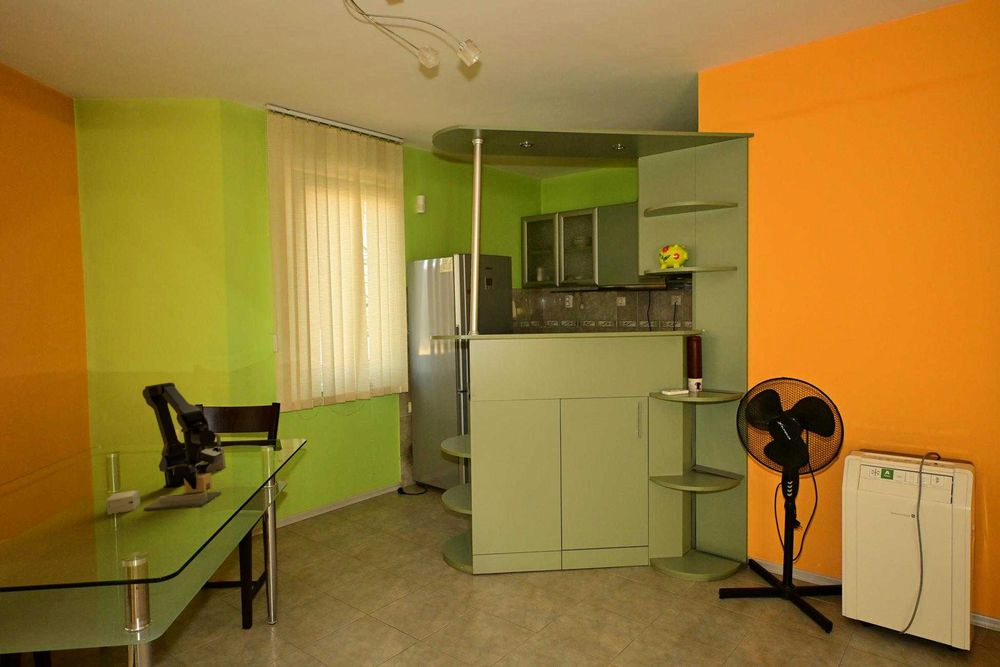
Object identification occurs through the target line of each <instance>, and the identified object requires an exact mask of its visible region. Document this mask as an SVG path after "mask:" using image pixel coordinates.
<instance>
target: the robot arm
mask: <svg viewBox="0 0 1000 667" xmlns="http://www.w3.org/2000/svg"><path fill="white" fill-rule="evenodd" d="M142 397H143V398H144V400H145V402H146V405H148V406H149V407H150V408H152V409H153V411H154V416H155V418H156V422H157V426H158V428H159V431H160V432H159V433H160V435H161V439H162V442H163V448H162V451H161V459H160V462H159V464H158V467H159V472H162V473H163V474H164V482H165V484H164V485H163V488H175V487H180V486H182V485H185V483H184V479H185V480H186V481H187V482H188V483H189V485H190V486H191V487H192V489H196V474H203V473H208V472H209V471H208V468H209V467H210V465H211V464H214V463H215V462H218V461H219V458H220V456H222V454H221V449H220V448H221V446H220V447H219V446H216V447H215V446H214V447H213V448H209V449H210V450H209V449H208V447H210V446H212V445H214V443H215V440H216V439H217V438H216V436H215V434H214V433H215V432H214V431H213V430H210V427H209V426H210V425H209V421H208V419H207V418H206V416H205V415H204V413H203V411H202V410H201V409H200V408H199V407H198V406H196V405H193V404H190V403H189V402H188V401H187V399H185V397H184V396H183V395H182V394H181V393H180V391H179V390H178V389H177V388H176V384H175V383H174V382H165V383H158V384H151V385H146V386H145V387H144V389H143V390H142ZM168 404H169V405H168ZM169 406H170V407H171V408H172V409H173V410H174V411H175V413H176V421H177V423H178V425H179V427H181V429H180V432H181V433H183V441H184V442H181V441H180V440H179V439H178V436H177V431H176V429H175V424H174V422H173V418H172V415H171V411H170V408H169ZM206 446H207V447H206ZM212 449H213V450H212Z"/></svg>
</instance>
